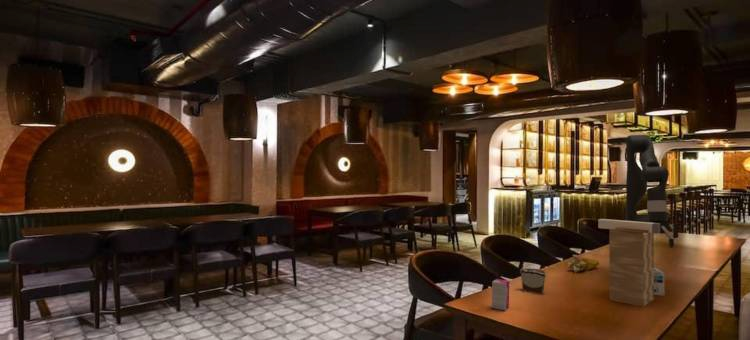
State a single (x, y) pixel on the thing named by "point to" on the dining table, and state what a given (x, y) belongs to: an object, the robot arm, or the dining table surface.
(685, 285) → the dining table surface
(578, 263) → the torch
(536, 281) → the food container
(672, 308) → the dining table surface
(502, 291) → the supplement box
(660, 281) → the light bulb box
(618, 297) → the stand
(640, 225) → the bar
